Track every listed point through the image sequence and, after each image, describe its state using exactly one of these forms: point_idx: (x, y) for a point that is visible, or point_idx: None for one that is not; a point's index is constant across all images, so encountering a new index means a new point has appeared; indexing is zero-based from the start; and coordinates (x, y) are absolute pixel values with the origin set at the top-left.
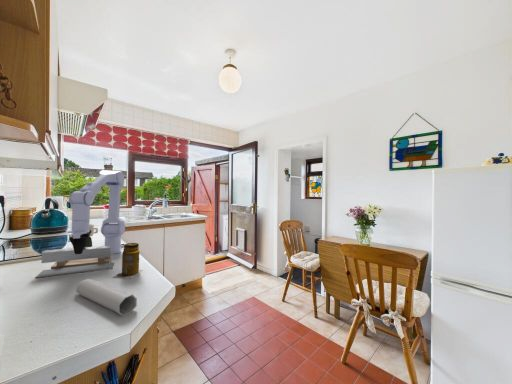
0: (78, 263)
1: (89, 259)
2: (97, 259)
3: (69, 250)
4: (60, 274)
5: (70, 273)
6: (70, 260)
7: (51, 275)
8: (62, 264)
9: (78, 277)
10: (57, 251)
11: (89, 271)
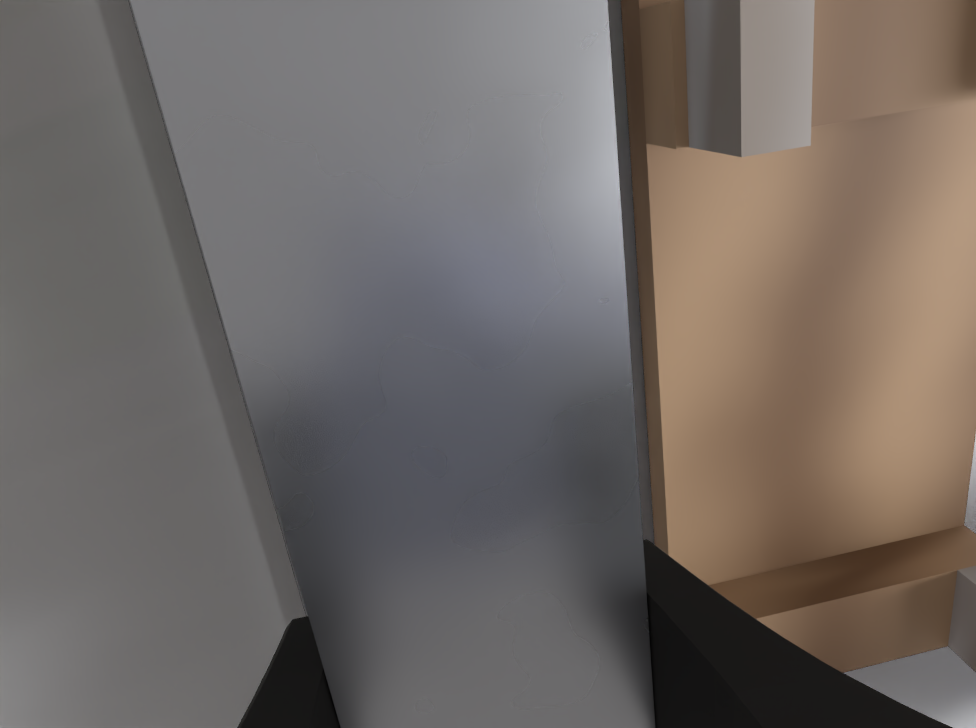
0: (691, 341)
1: (874, 424)
2: (818, 540)
3: (325, 553)
4: (201, 252)
5: (240, 384)
6: (961, 120)
7: (163, 119)
8: (654, 111)
9: (42, 559)
10: (214, 238)
11: (302, 598)
